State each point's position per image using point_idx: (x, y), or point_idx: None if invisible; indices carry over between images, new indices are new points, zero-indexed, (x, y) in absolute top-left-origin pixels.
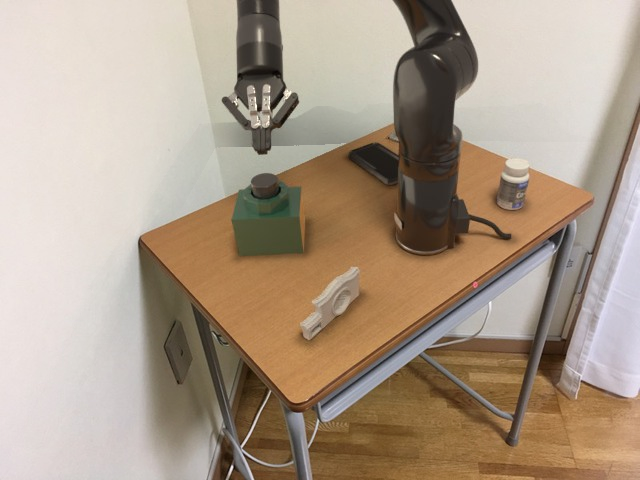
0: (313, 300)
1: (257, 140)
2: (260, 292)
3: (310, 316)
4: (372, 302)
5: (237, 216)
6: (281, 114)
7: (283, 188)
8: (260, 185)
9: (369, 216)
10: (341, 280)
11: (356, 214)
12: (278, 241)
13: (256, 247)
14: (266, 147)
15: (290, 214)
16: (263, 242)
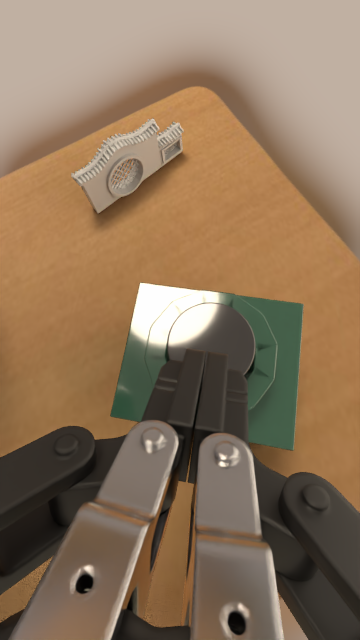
0: (156, 131)
1: (219, 382)
2: (238, 237)
3: (167, 139)
4: (79, 193)
5: (289, 315)
6: (8, 470)
7: (158, 350)
8: (223, 314)
9: (6, 400)
10: (105, 146)
11: (28, 414)
12: None
13: None
14: (180, 363)
15: (158, 294)
16: None
